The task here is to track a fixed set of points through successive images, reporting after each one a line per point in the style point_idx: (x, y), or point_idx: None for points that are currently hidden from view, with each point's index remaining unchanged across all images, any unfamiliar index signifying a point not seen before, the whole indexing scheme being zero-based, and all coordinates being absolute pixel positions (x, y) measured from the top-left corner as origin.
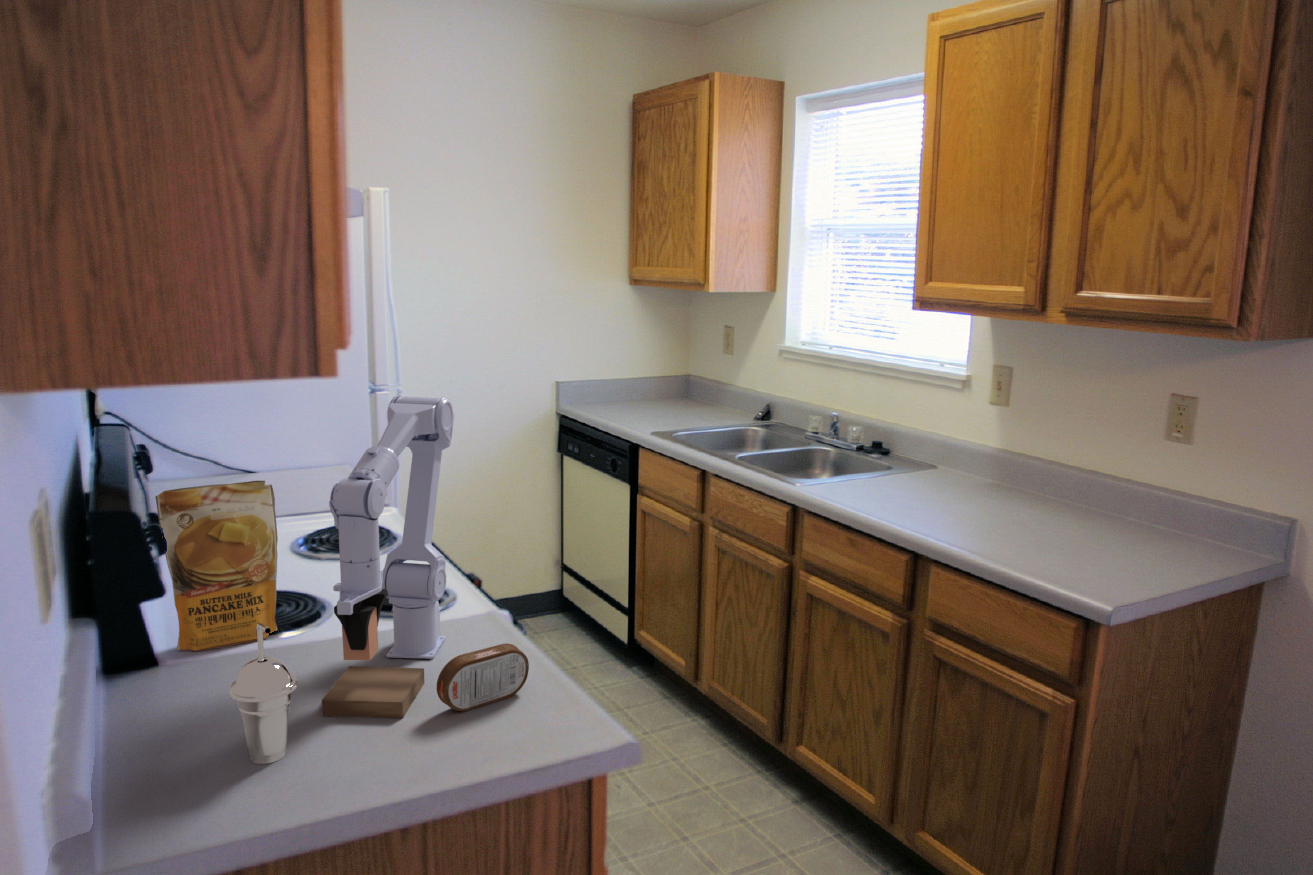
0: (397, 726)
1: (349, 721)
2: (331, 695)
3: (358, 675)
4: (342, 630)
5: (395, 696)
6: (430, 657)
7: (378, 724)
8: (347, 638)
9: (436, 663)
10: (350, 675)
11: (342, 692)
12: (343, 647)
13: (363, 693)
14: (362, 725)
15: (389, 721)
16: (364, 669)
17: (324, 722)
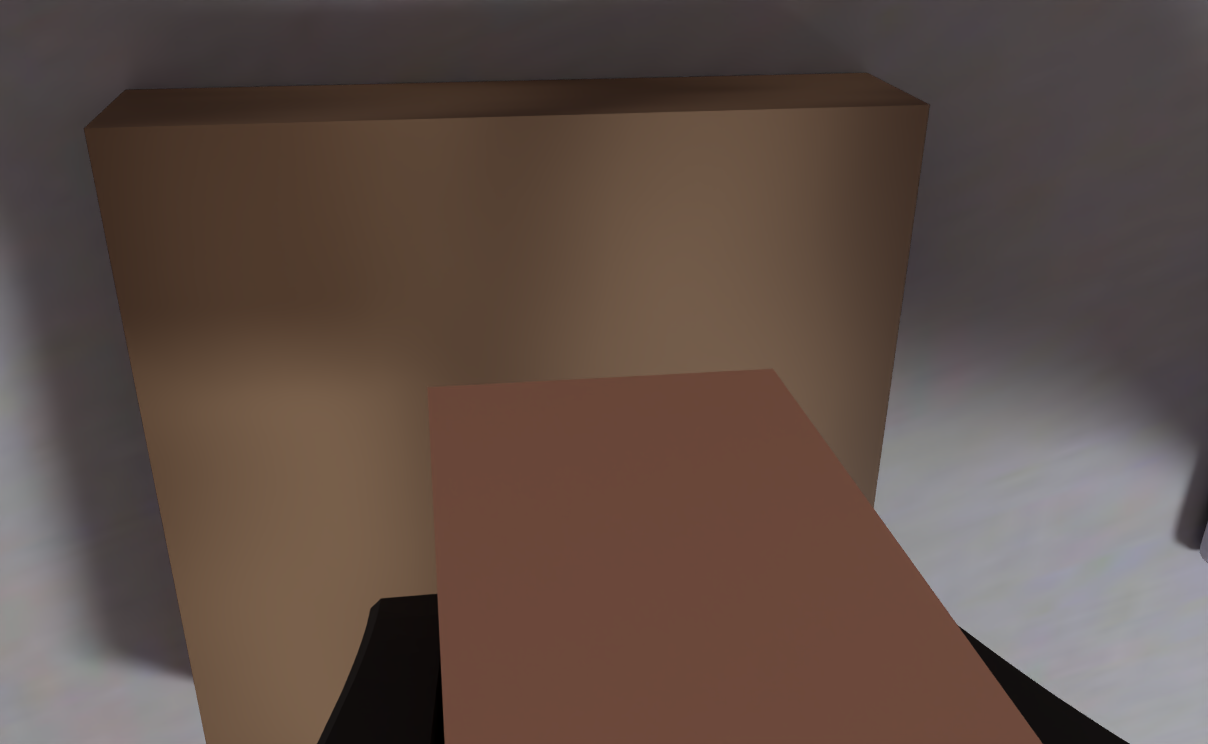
0: (100, 701)
1: (84, 361)
2: (214, 190)
3: (706, 275)
4: (443, 670)
5: (310, 708)
6: (1204, 554)
7: (95, 579)
8: (332, 711)
9: (1124, 596)
10: (703, 200)
11: (308, 269)
12: (435, 481)
13: (321, 460)
14: (45, 481)
15: (163, 629)
16: (842, 280)
17: (4, 161)
